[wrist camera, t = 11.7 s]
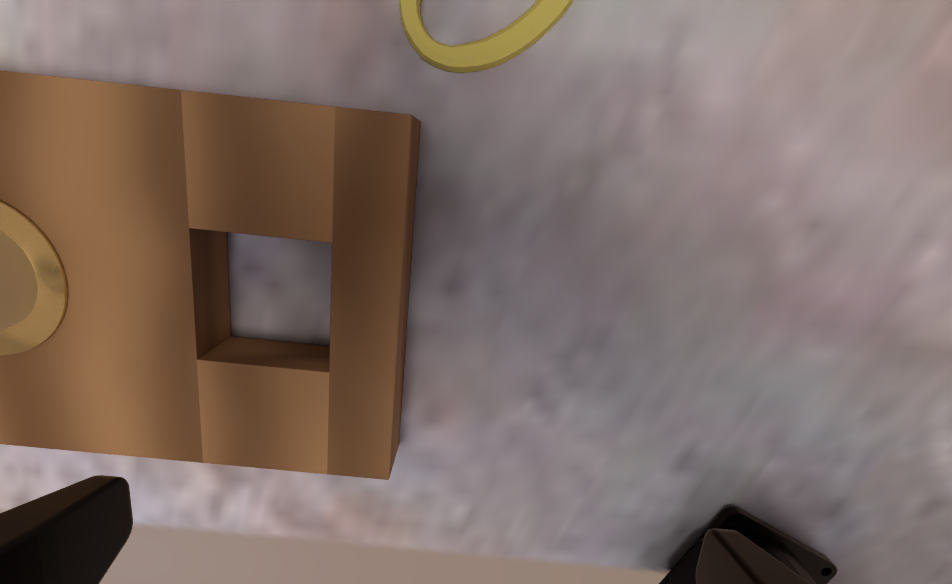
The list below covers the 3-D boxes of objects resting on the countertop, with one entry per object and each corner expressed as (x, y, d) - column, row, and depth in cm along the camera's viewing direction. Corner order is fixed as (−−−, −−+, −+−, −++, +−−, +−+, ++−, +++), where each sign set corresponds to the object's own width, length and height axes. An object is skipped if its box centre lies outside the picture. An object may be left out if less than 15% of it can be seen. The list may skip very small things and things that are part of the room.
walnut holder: (420, 121, 18) (411, 115, 15) (399, 444, 21) (388, 479, 19) (-118, 63, 17) (-214, 47, 15) (-46, 402, 21) (-113, 433, 19)
